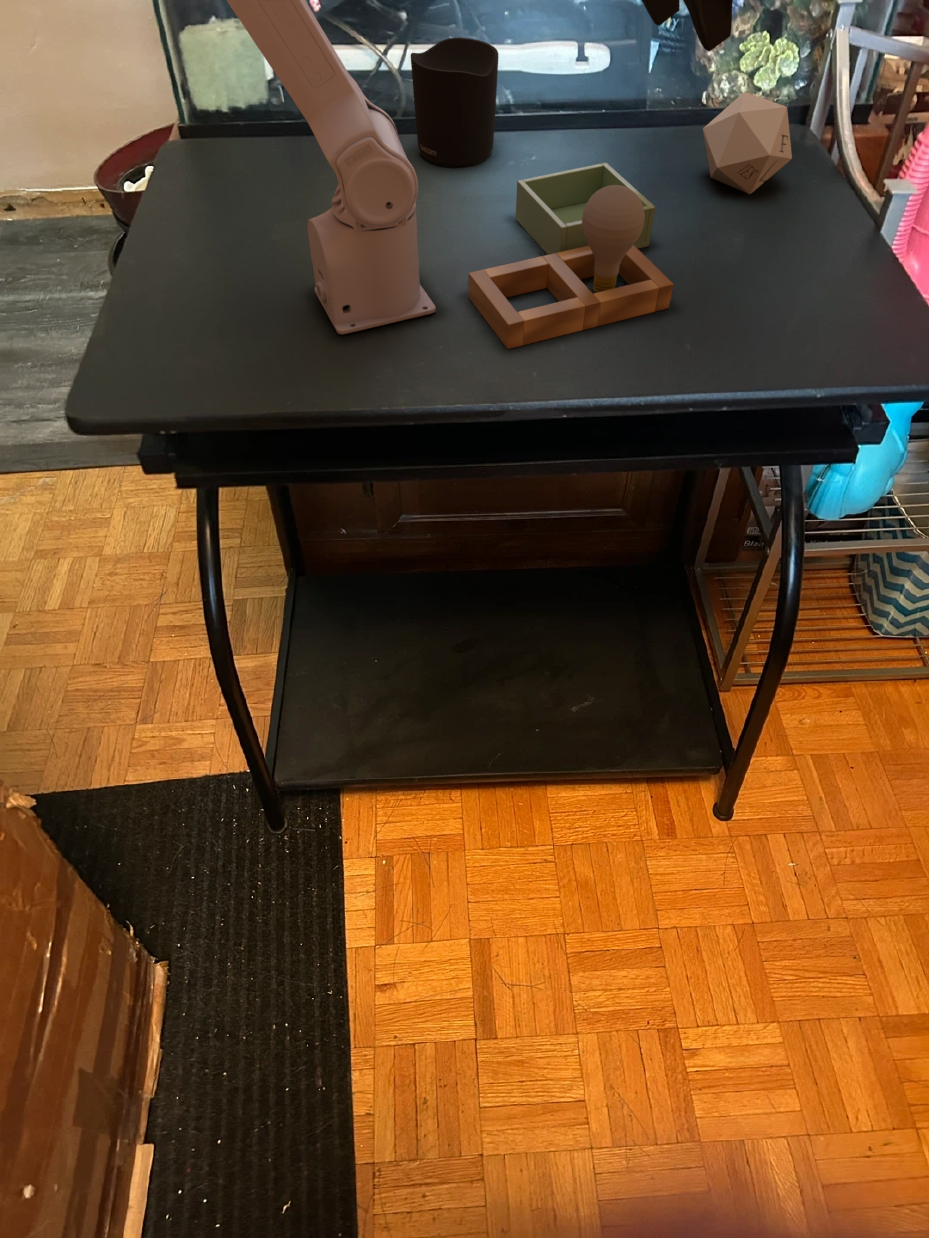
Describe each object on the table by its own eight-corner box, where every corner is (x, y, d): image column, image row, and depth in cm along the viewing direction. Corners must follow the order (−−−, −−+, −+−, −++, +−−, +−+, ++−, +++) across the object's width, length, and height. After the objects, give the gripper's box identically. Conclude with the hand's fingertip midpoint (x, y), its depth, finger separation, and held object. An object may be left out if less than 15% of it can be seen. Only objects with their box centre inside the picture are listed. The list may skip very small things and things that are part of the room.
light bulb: (644, 298, 83) (662, 192, 75) (599, 317, 81) (613, 210, 73) (606, 272, 86) (620, 167, 78) (562, 290, 84) (572, 184, 76)
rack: (507, 349, 78) (508, 324, 76) (468, 297, 83) (468, 272, 81) (669, 308, 82) (673, 284, 80) (622, 261, 87) (625, 236, 85)
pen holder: (412, 135, 104) (407, 39, 97) (490, 131, 105) (492, 35, 97) (418, 172, 99) (414, 74, 91) (501, 167, 99) (504, 69, 91)
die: (710, 211, 94) (789, 140, 87) (671, 140, 95) (746, 64, 88) (747, 213, 100) (825, 147, 93) (710, 146, 101) (784, 75, 93)
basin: (558, 267, 86) (561, 228, 83) (515, 219, 92) (516, 180, 89) (649, 246, 89) (655, 207, 86) (601, 200, 95) (606, 162, 91)
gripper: (756, -195, 55) (789, 20, 66) (642, -215, 64) (686, -23, 75) (661, -121, 56) (708, 80, 66) (561, -151, 65) (616, 30, 76)
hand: (691, 29), depth 71 cm, fingers open, 7 cm apart
